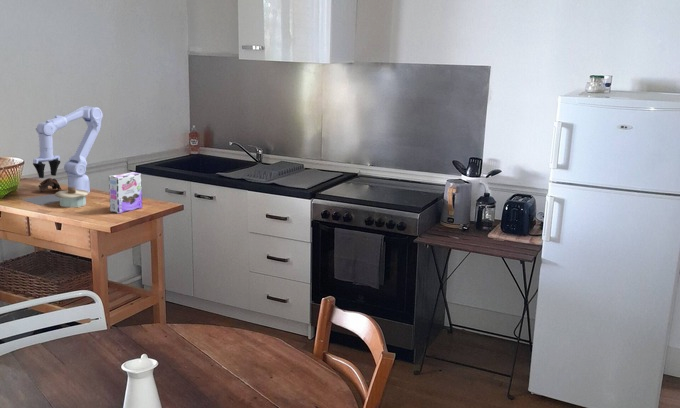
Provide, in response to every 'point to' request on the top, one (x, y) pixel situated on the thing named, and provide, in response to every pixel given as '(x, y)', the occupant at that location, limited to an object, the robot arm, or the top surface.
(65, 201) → the bowl
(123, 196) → the candy box
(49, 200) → the mat
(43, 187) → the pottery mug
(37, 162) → the robot arm
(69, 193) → the lid
